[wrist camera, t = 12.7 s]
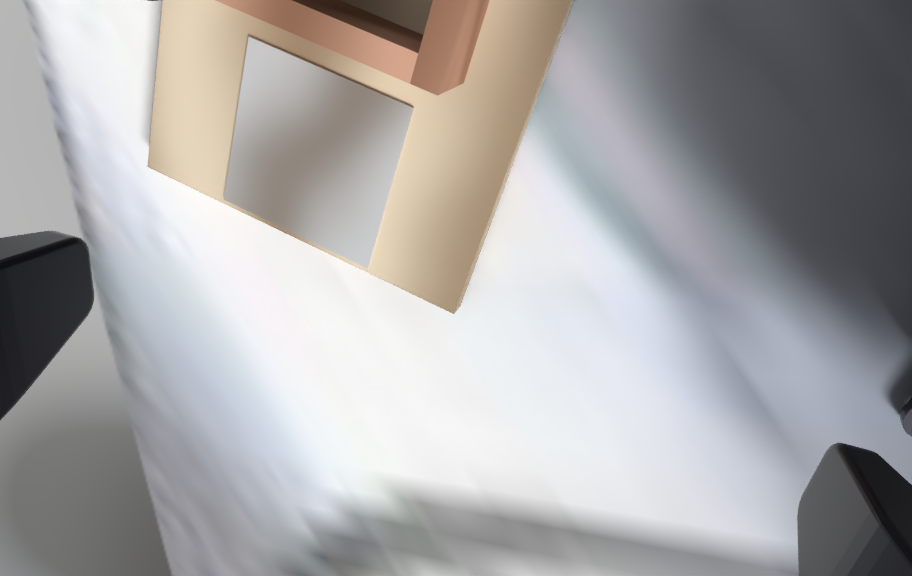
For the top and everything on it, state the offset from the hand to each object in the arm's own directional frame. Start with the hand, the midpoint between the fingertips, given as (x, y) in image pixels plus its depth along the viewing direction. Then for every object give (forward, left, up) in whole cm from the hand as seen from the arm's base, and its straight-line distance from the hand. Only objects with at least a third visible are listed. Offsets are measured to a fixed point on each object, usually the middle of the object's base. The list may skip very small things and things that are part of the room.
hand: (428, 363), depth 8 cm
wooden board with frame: (+8, 0, -13) cm, 16 cm away
